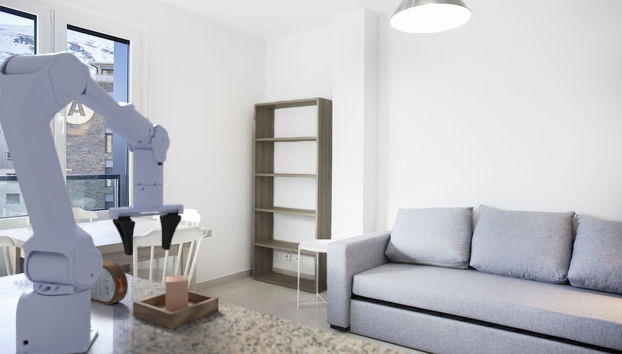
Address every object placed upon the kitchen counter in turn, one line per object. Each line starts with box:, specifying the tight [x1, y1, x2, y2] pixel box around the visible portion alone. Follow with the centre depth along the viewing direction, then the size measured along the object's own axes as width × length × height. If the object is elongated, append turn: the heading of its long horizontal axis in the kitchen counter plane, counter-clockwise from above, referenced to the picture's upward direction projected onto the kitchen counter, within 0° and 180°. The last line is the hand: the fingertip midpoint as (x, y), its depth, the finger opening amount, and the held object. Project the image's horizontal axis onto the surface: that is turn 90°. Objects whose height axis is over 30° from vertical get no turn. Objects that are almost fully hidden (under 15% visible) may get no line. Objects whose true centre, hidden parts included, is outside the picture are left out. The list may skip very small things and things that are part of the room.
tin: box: [91, 258, 129, 305], centre depth 87 cm, size 15×3×8 cm, turn 61°
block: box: [165, 274, 189, 312], centre depth 80 cm, size 4×4×6 cm
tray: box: [132, 289, 220, 330], centre depth 80 cm, size 11×11×2 cm
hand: (147, 251), depth 85 cm, fingers open, 7 cm apart
